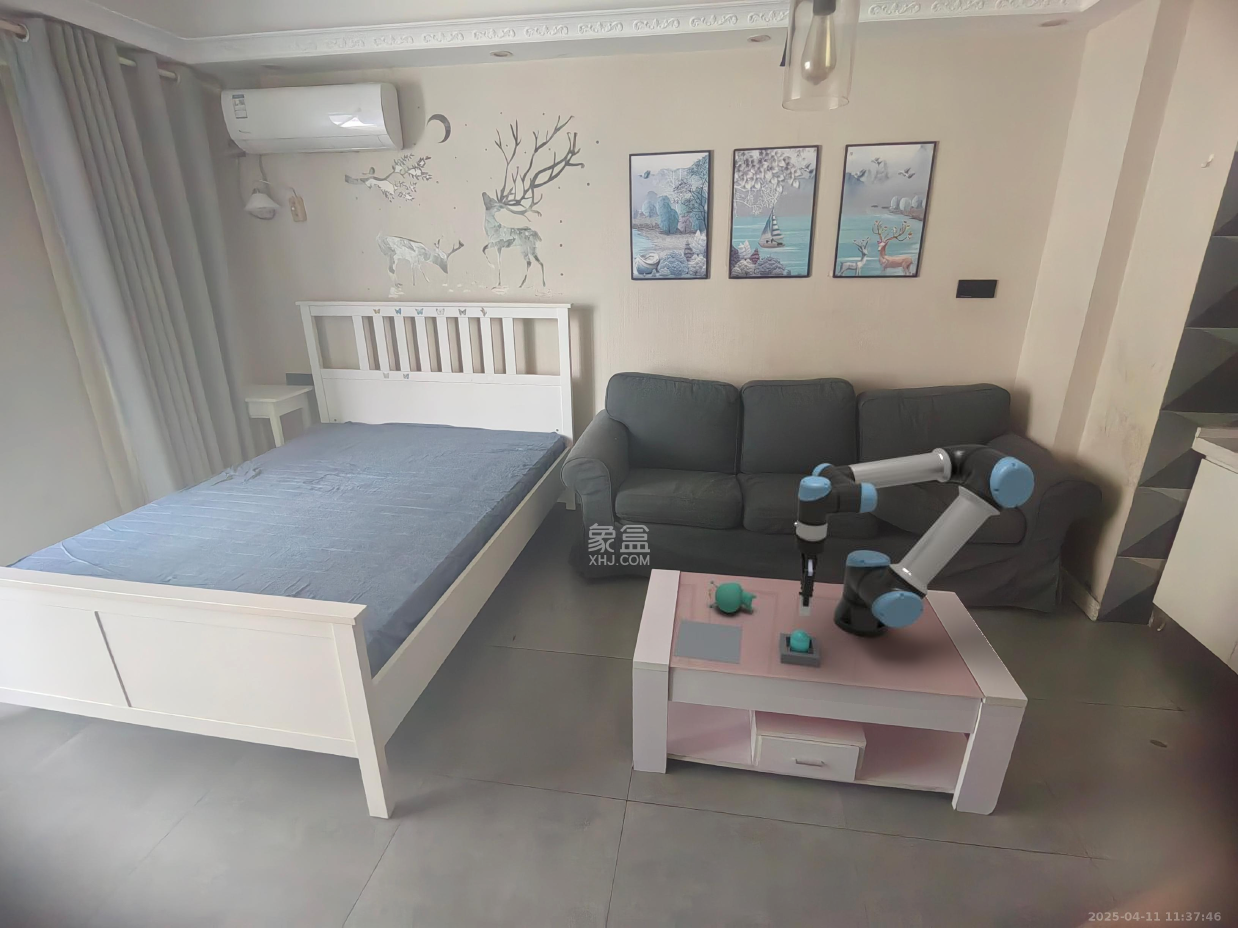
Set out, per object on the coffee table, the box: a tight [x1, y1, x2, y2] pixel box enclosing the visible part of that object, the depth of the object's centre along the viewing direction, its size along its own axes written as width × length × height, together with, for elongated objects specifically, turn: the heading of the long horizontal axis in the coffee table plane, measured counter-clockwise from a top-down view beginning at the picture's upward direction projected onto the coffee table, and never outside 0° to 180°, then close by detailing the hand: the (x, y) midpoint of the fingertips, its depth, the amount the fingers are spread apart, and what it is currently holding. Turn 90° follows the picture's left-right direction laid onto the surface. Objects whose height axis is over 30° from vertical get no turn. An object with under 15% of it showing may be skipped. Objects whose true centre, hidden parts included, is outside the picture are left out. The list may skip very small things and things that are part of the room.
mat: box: [673, 619, 742, 665], centre depth 177 cm, size 18×18×1 cm
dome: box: [789, 629, 810, 654], centre depth 170 cm, size 5×5×7 cm
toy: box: [707, 580, 757, 614], centre depth 192 cm, size 10×10×15 cm
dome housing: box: [779, 632, 821, 668], centre depth 170 cm, size 10×10×3 cm
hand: (804, 613), depth 167 cm, fingers closed
